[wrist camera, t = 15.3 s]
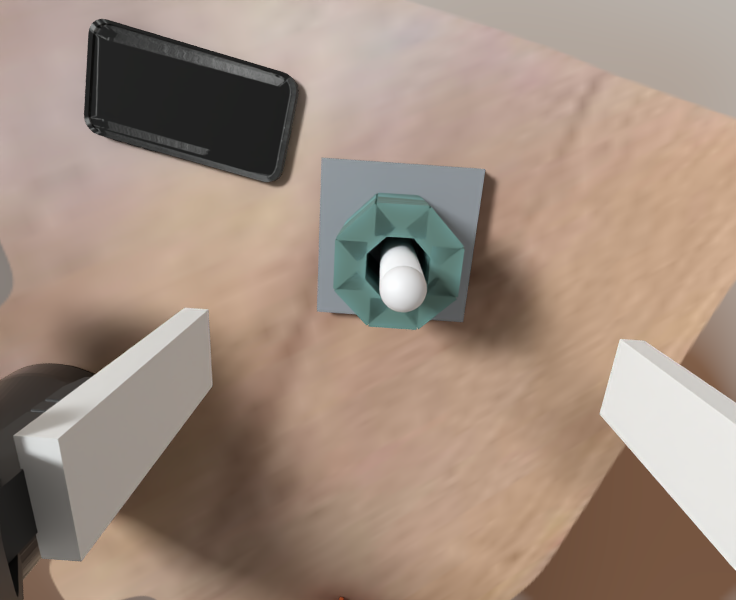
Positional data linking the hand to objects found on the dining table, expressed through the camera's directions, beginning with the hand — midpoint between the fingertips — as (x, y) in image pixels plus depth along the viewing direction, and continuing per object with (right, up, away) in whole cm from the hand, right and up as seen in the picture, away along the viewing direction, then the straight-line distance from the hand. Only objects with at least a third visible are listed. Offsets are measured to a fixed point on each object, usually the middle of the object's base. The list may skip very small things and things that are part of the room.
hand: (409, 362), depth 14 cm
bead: (+1, +6, +19) cm, 20 cm away
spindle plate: (+1, +7, +21) cm, 22 cm away
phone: (-14, +17, +19) cm, 29 cm away
